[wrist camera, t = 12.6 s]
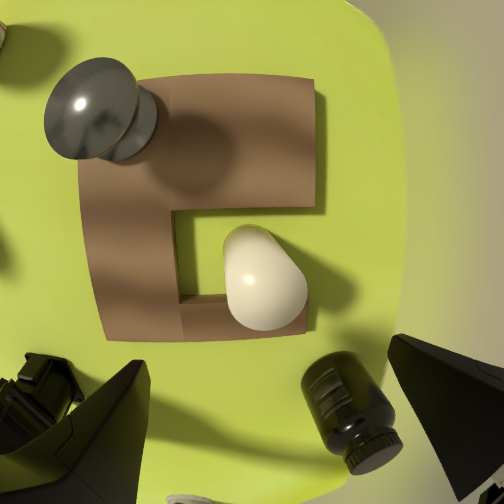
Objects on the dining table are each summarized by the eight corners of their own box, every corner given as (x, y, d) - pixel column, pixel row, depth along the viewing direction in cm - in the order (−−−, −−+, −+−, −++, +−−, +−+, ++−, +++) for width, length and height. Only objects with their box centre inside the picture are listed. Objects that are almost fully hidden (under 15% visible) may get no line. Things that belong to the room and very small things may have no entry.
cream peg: (274, 273, 22) (304, 327, 14) (223, 275, 21) (229, 333, 14) (275, 223, 20) (310, 255, 13) (221, 225, 20) (225, 259, 12)
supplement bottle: (302, 402, 27) (335, 489, 15) (296, 361, 25) (338, 462, 13) (358, 383, 27) (404, 459, 16) (359, 340, 25) (422, 422, 14)
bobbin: (158, 156, 17) (134, 151, 11) (85, 166, 16) (42, 167, 11) (160, 79, 15) (140, 48, 10) (88, 92, 14) (49, 72, 9)
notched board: (300, 324, 23) (305, 333, 22) (111, 331, 21) (106, 340, 20) (307, 85, 18) (314, 79, 16) (88, 96, 15) (80, 92, 14)
